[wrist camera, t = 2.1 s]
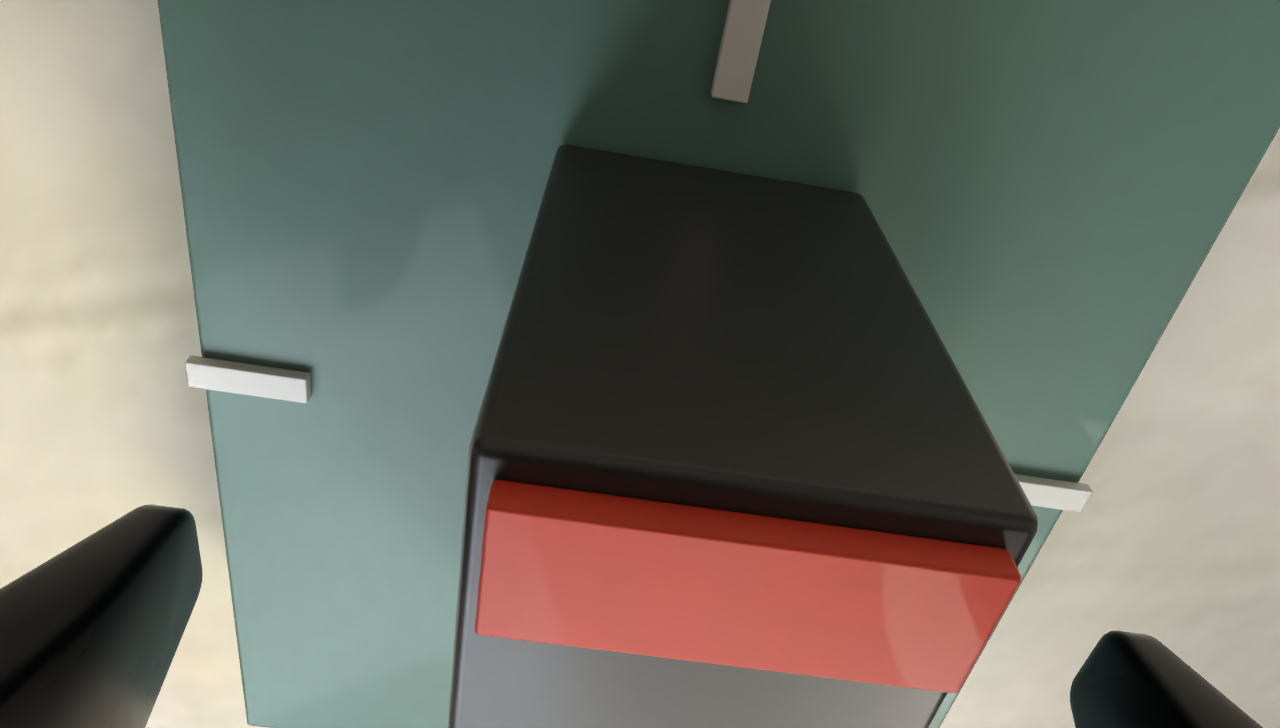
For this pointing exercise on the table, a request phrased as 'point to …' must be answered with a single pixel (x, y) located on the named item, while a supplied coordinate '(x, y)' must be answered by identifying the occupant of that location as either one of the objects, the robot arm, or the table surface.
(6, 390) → the table surface
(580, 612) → the block
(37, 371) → the table surface
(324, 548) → the green flat block
